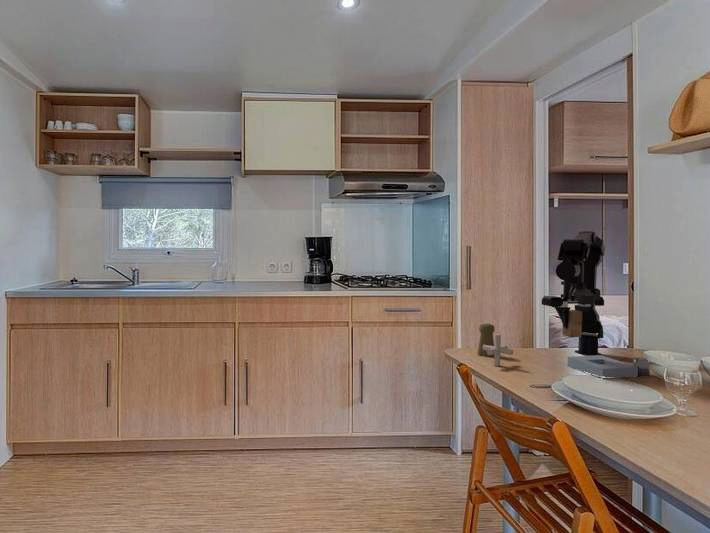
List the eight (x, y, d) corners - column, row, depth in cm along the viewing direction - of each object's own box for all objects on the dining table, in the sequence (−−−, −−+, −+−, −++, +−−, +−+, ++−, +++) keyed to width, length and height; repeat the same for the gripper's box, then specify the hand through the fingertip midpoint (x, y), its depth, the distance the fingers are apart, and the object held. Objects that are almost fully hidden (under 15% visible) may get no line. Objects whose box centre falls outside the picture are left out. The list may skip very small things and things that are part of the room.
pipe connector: (491, 360, 170) (492, 330, 169) (519, 365, 163) (519, 334, 162) (475, 365, 163) (475, 334, 162) (503, 371, 156) (504, 338, 155)
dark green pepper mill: (481, 352, 182) (481, 321, 182) (497, 354, 179) (498, 323, 178) (474, 355, 178) (475, 324, 177) (491, 357, 174) (492, 325, 174)
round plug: (628, 373, 154) (629, 357, 154) (641, 372, 155) (642, 356, 155) (640, 377, 150) (640, 360, 150) (653, 376, 151) (653, 359, 151)
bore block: (567, 366, 163) (567, 356, 163) (599, 364, 166) (600, 355, 165) (602, 379, 147) (602, 368, 147) (637, 377, 150) (637, 366, 150)
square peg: (562, 335, 163) (563, 310, 162) (573, 334, 164) (574, 309, 163) (569, 337, 159) (570, 311, 159) (581, 336, 160) (582, 311, 159)
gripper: (562, 281, 151) (560, 333, 151) (617, 280, 154) (615, 331, 155) (541, 278, 162) (539, 327, 162) (593, 278, 165) (591, 325, 166)
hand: (572, 328), depth 161 cm, fingers closed on square peg, 4 cm apart
